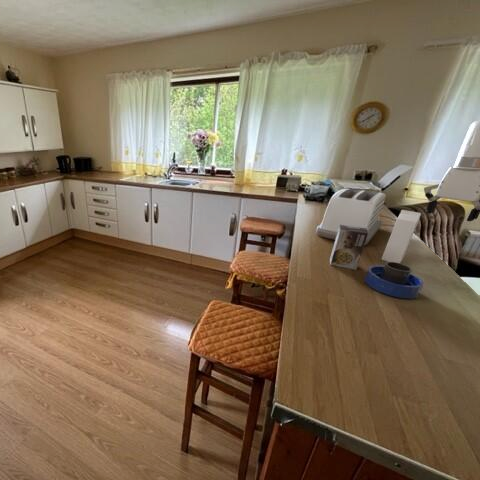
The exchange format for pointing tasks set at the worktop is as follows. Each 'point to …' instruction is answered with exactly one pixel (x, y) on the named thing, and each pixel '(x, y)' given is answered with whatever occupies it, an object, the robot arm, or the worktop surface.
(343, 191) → the toaster
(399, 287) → the bowl
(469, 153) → the robot arm
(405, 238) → the milk
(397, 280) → the cup
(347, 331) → the worktop surface
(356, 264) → the coffee box
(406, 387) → the worktop surface
